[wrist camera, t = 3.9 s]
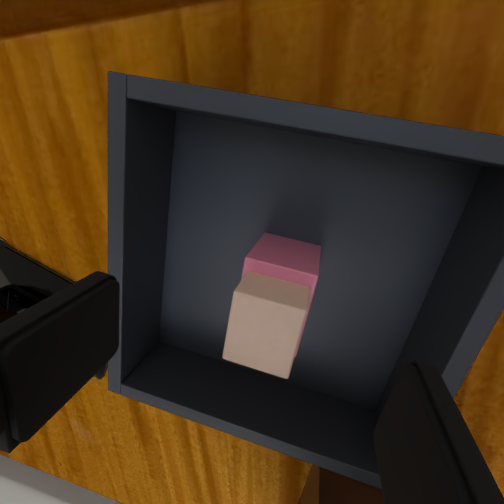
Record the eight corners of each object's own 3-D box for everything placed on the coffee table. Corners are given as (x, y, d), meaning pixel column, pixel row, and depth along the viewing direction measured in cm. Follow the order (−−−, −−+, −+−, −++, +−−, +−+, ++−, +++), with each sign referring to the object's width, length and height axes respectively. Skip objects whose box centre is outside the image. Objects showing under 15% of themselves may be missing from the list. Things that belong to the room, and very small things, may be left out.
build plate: (-25, 302, 24) (-100, 334, 20) (-20, 225, 22) (-106, 243, 17) (103, 377, 23) (53, 428, 19) (126, 307, 21) (72, 348, 16)
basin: (501, 150, 13) (593, 150, 8) (382, 413, 18) (399, 496, 14) (170, 93, 15) (106, 70, 11) (154, 339, 21) (107, 390, 17)
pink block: (321, 245, 15) (317, 300, 10) (302, 311, 17) (290, 392, 11) (264, 231, 16) (229, 276, 10) (251, 297, 17) (214, 367, 12)
